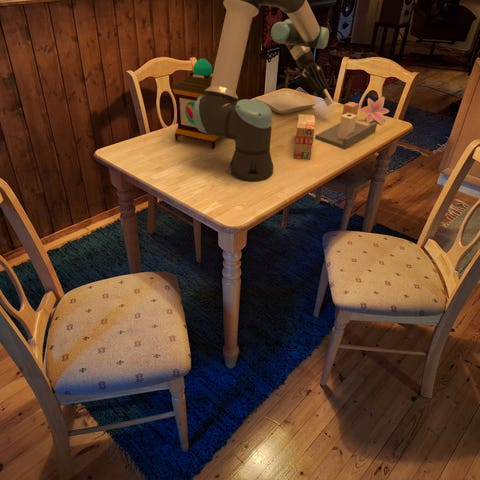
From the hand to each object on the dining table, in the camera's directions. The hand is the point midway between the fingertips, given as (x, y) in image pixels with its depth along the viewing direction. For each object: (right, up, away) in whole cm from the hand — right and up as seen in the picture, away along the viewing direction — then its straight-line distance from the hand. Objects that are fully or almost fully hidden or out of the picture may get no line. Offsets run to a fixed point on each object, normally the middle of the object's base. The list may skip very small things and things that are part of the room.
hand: (330, 104), depth 179 cm
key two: (+7, -10, -2) cm, 12 cm away
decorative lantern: (-53, -17, -11) cm, 57 cm away
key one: (+3, -17, -13) cm, 22 cm away
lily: (+20, -5, +7) cm, 22 cm away
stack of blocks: (-14, -22, -16) cm, 31 cm away
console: (+5, -15, -7) cm, 17 cm away
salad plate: (-18, +5, +20) cm, 27 cm away
